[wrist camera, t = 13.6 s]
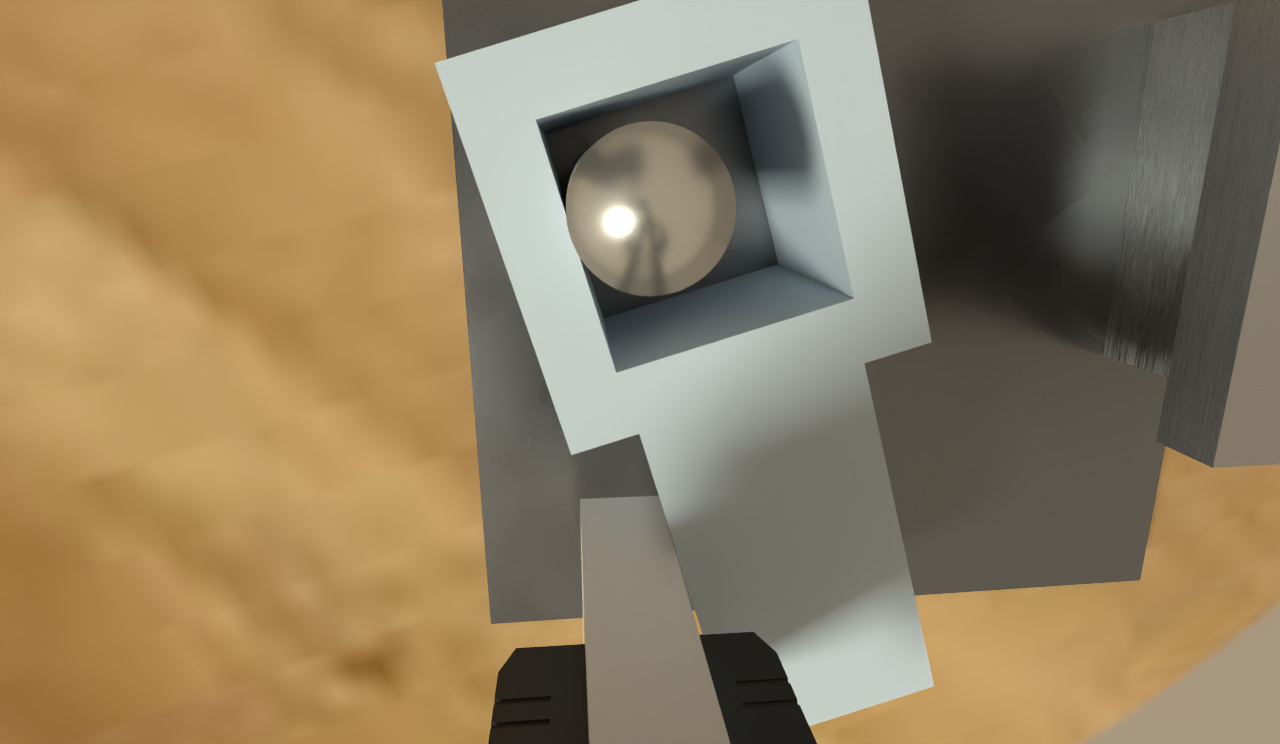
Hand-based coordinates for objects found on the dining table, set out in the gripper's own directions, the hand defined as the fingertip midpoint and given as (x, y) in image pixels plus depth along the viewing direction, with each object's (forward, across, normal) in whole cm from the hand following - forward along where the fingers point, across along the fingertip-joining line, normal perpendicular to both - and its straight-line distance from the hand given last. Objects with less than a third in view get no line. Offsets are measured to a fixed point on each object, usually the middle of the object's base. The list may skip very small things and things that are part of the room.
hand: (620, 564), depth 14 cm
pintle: (+2, 0, +7) cm, 7 cm away
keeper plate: (+3, +5, +4) cm, 7 cm away
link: (+2, +2, +4) cm, 5 cm away
